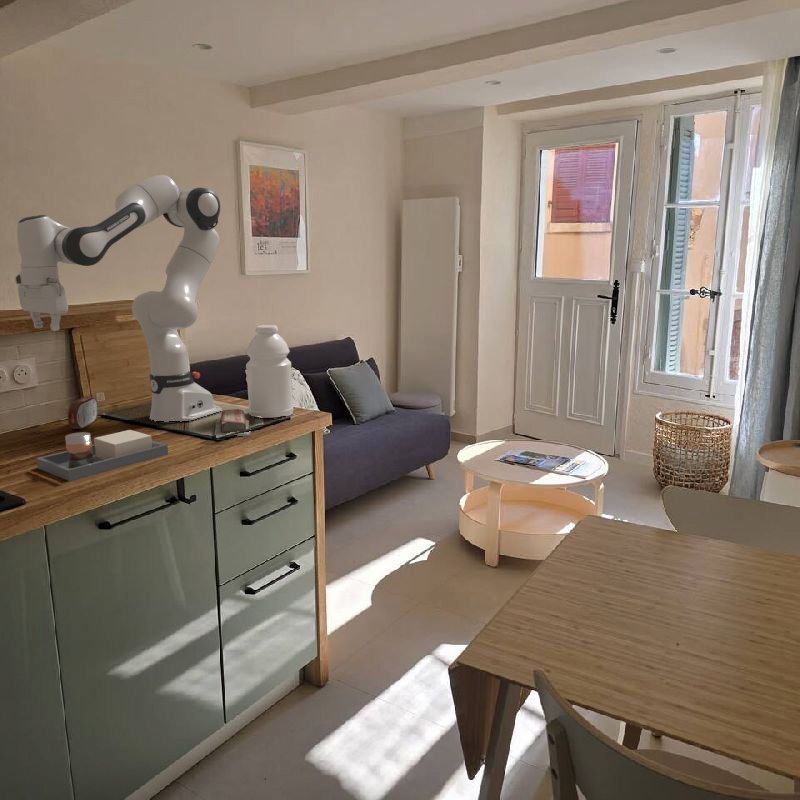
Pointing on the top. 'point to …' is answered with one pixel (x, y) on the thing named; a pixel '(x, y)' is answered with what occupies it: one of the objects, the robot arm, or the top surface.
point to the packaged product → (231, 423)
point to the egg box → (121, 444)
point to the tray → (96, 462)
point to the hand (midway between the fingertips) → (46, 329)
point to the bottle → (269, 374)
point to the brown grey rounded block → (82, 412)
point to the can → (79, 449)
